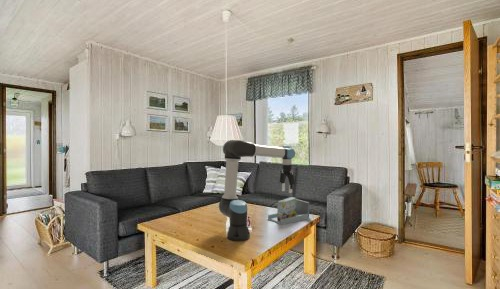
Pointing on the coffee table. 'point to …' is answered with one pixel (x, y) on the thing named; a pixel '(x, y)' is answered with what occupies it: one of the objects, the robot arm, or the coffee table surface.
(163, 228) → the coffee table surface
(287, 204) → the snack box
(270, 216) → the shelf
